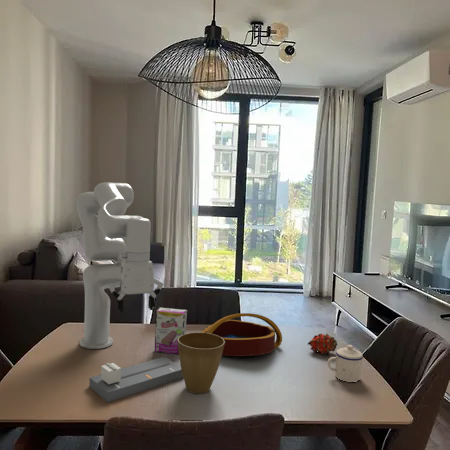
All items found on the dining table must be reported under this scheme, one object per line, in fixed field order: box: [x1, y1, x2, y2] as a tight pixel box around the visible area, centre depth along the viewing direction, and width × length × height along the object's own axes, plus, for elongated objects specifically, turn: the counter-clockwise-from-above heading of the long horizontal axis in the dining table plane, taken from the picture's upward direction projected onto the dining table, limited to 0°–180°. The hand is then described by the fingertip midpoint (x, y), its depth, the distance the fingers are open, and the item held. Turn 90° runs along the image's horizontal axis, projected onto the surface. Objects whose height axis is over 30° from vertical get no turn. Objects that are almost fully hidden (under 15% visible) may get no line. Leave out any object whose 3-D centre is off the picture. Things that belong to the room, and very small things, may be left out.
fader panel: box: [88, 356, 184, 403], centre depth 139 cm, size 12×28×3 cm, turn 133°
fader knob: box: [100, 362, 122, 384], centre depth 132 cm, size 5×4×4 cm
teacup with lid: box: [327, 344, 364, 382], centre depth 150 cm, size 12×9×12 cm
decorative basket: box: [201, 312, 283, 357], centre depth 172 cm, size 34×29×15 cm
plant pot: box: [178, 331, 225, 394], centre depth 136 cm, size 15×15×16 cm
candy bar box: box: [154, 307, 188, 355], centre depth 165 cm, size 11×5×16 cm, turn 84°
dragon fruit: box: [307, 333, 338, 355], centre depth 173 cm, size 8×8×12 cm
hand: (135, 310), depth 137 cm, fingers open, 9 cm apart
